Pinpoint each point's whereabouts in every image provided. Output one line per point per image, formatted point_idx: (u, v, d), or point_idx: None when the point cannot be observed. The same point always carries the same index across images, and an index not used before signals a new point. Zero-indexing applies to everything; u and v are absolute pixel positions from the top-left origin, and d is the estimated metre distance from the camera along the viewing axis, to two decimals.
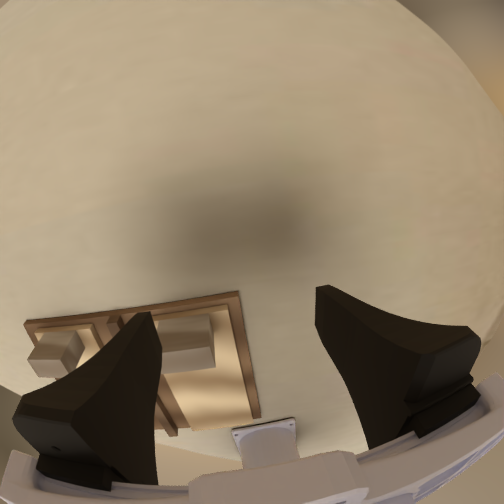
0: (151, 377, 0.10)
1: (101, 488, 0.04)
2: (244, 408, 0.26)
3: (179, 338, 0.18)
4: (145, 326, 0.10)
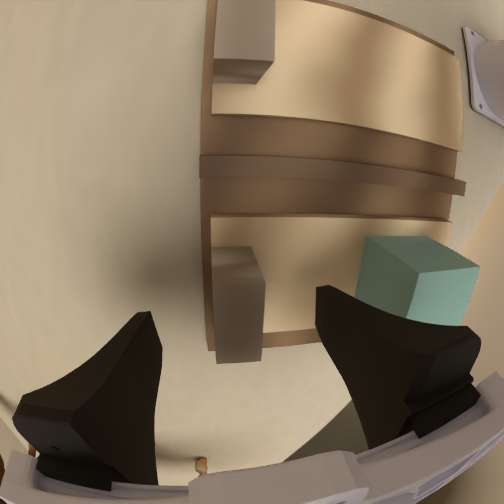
0: (151, 377, 0.10)
1: (101, 488, 0.04)
2: (428, 49, 0.11)
3: None
4: (145, 327, 0.10)
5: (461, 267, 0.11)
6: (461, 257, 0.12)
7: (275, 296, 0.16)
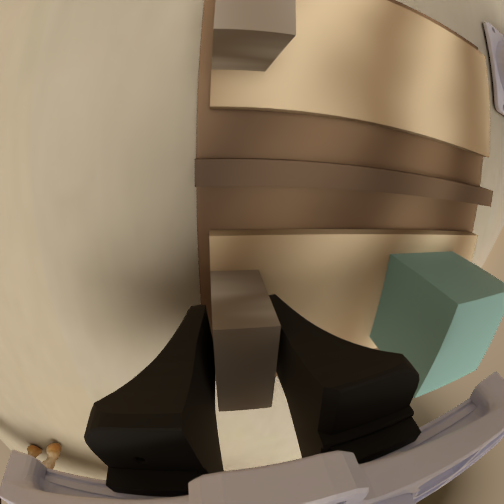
0: (211, 372, 0.10)
1: None
2: (455, 42, 0.09)
3: None
4: (205, 320, 0.10)
5: (496, 292, 0.09)
6: (493, 278, 0.10)
7: None
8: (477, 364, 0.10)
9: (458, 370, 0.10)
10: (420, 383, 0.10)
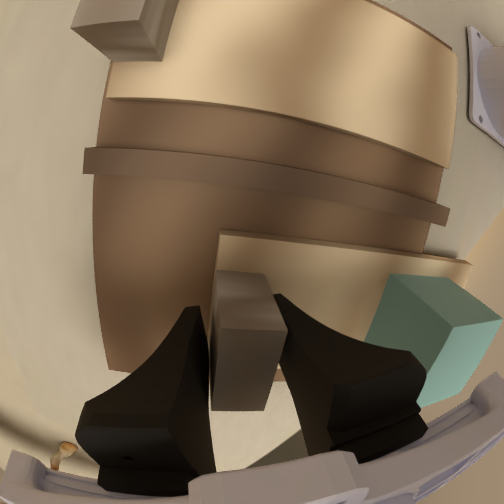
0: (204, 373, 0.10)
1: (181, 495, 0.04)
2: (415, 35, 0.09)
3: None
4: (198, 321, 0.10)
5: (488, 320, 0.09)
6: (484, 306, 0.10)
7: None
8: (461, 387, 0.11)
9: (443, 391, 0.10)
10: None
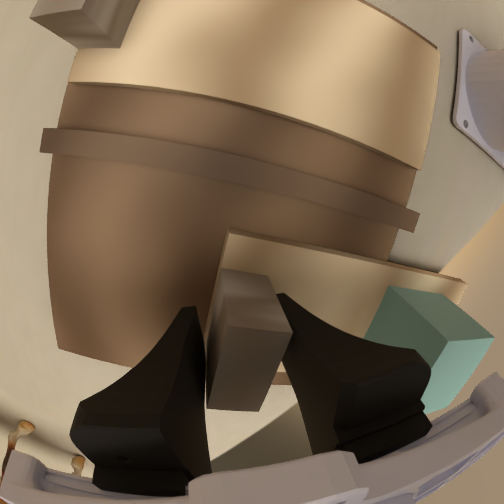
0: (201, 373, 0.10)
1: (175, 495, 0.04)
2: (392, 28, 0.08)
3: None
4: (194, 321, 0.10)
5: (480, 337, 0.09)
6: (477, 324, 0.11)
7: None
8: (449, 402, 0.11)
9: (432, 404, 0.11)
10: None
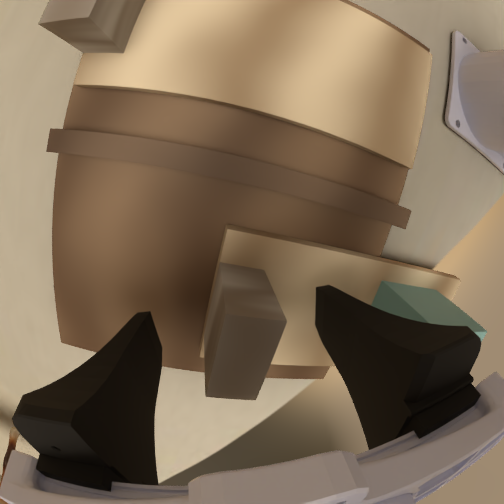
0: (151, 377, 0.10)
1: (101, 488, 0.04)
2: (384, 31, 0.09)
3: None
4: (145, 326, 0.10)
5: None
6: (470, 319, 0.12)
7: None
8: None
9: None
10: None
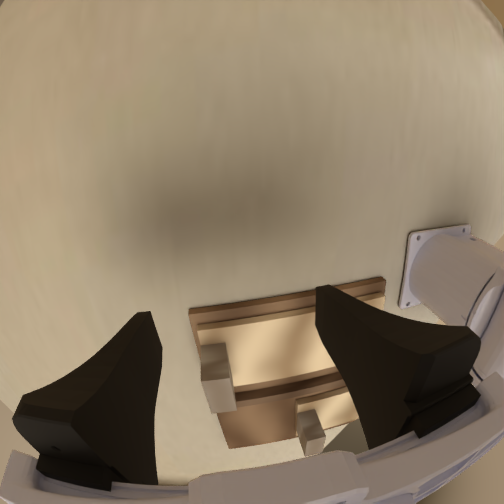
0: (151, 377, 0.10)
1: (101, 488, 0.04)
2: None
3: None
4: (145, 327, 0.10)
5: None
6: None
7: (324, 419, 0.28)
8: None
9: None
10: None
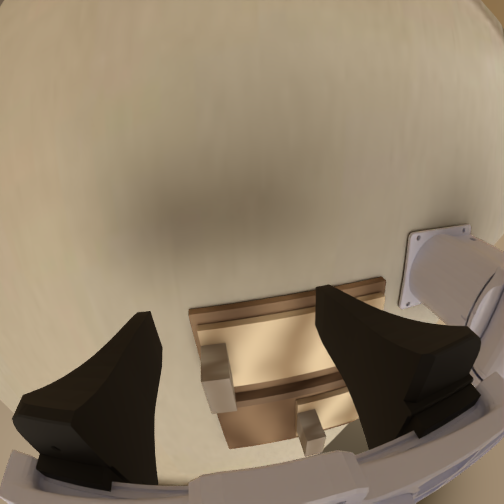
0: (151, 377, 0.10)
1: (101, 488, 0.04)
2: None
3: None
4: (145, 326, 0.10)
5: None
6: None
7: (324, 419, 0.28)
8: None
9: None
10: None
